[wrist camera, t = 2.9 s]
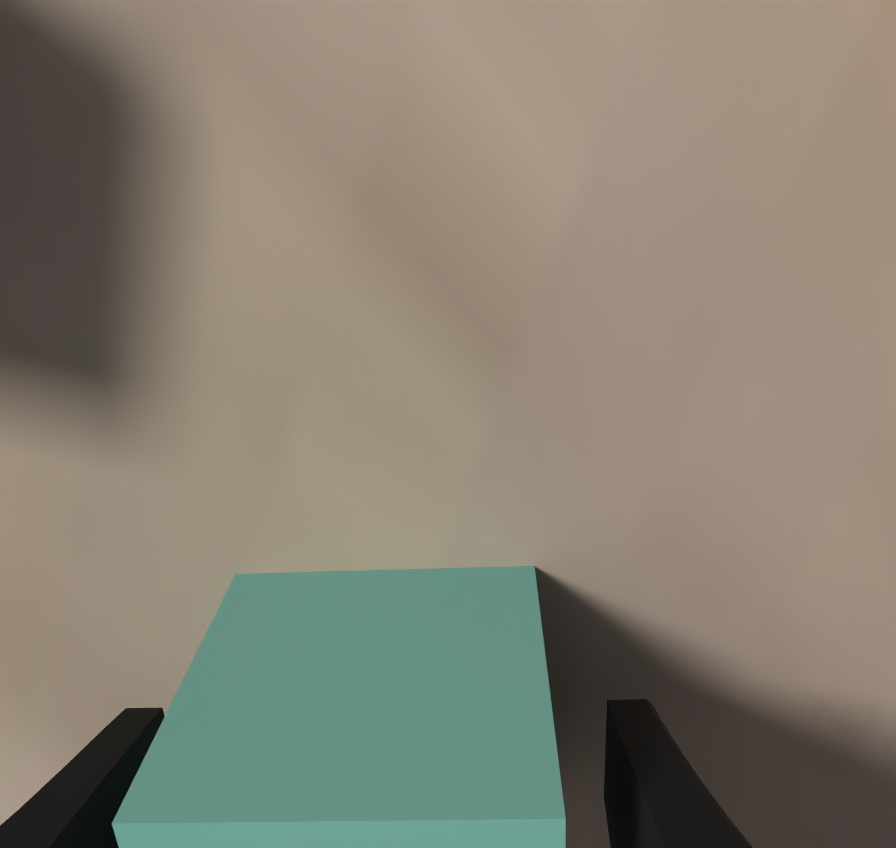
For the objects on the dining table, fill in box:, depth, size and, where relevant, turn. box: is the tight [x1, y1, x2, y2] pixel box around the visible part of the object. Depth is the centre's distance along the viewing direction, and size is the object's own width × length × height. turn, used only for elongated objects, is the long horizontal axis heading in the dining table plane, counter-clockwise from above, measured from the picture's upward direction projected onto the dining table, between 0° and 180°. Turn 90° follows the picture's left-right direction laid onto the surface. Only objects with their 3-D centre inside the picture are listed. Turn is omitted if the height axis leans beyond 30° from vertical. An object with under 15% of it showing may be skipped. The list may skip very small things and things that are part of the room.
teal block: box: [112, 566, 566, 848], centre depth 12 cm, size 5×5×5 cm
